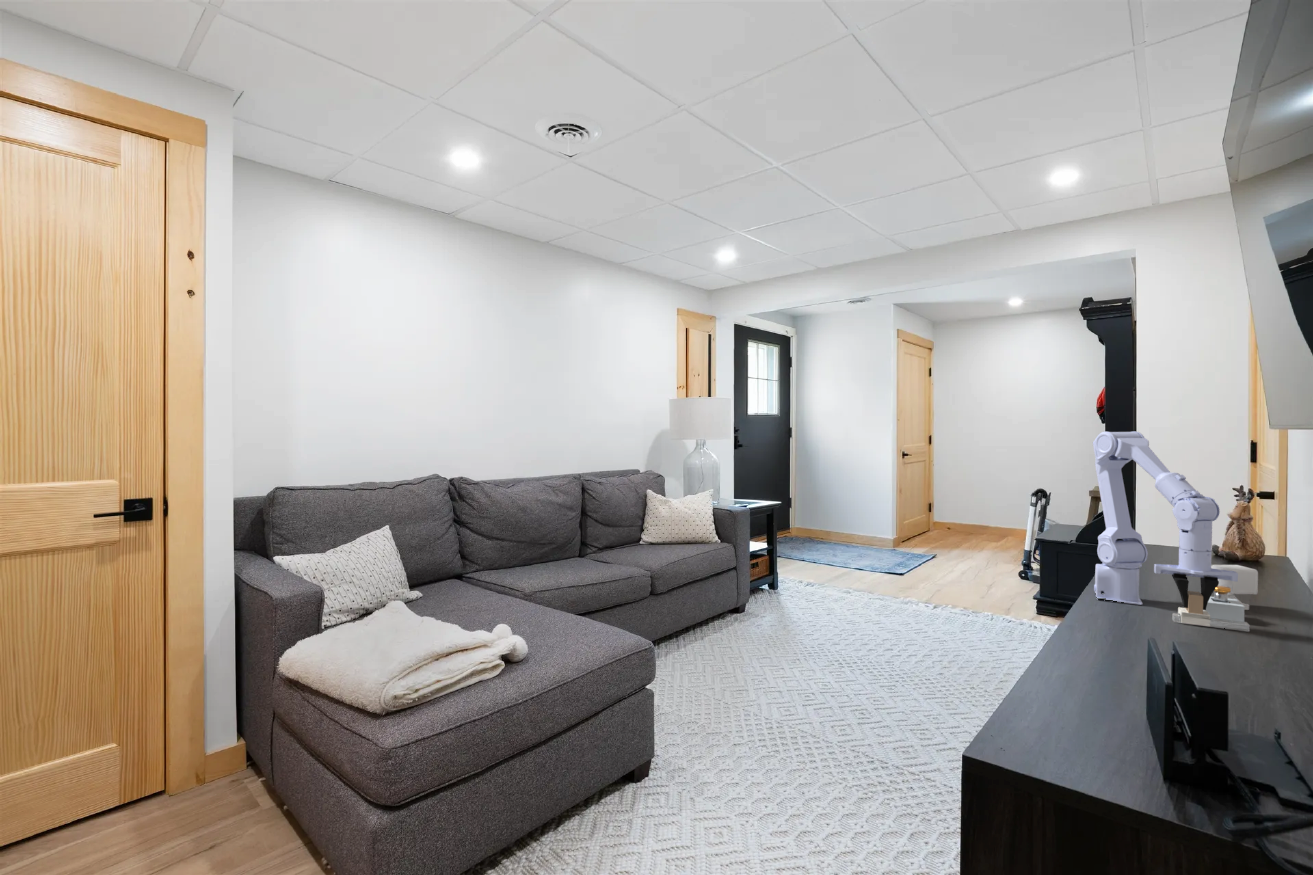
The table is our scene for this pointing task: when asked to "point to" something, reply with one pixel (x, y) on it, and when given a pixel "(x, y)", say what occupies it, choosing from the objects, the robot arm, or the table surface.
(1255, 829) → the table surface
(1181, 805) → the table surface
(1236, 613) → the grey square-hole block
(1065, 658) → the table surface
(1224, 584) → the security camera
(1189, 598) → the carriage
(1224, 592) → the gold round knob
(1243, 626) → the rail
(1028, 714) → the table surface
